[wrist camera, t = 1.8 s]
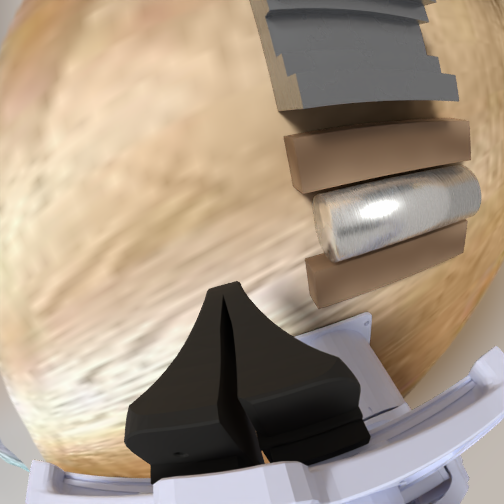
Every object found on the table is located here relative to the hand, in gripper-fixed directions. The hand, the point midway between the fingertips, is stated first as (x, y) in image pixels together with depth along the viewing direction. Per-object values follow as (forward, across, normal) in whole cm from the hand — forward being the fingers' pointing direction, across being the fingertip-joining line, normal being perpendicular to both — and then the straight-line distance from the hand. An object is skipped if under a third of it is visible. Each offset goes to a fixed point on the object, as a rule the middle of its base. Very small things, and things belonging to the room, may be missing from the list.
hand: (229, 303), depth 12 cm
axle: (+4, -12, 0) cm, 13 cm away
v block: (+6, -10, -11) cm, 16 cm away
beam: (+6, -12, 0) cm, 13 cm away
